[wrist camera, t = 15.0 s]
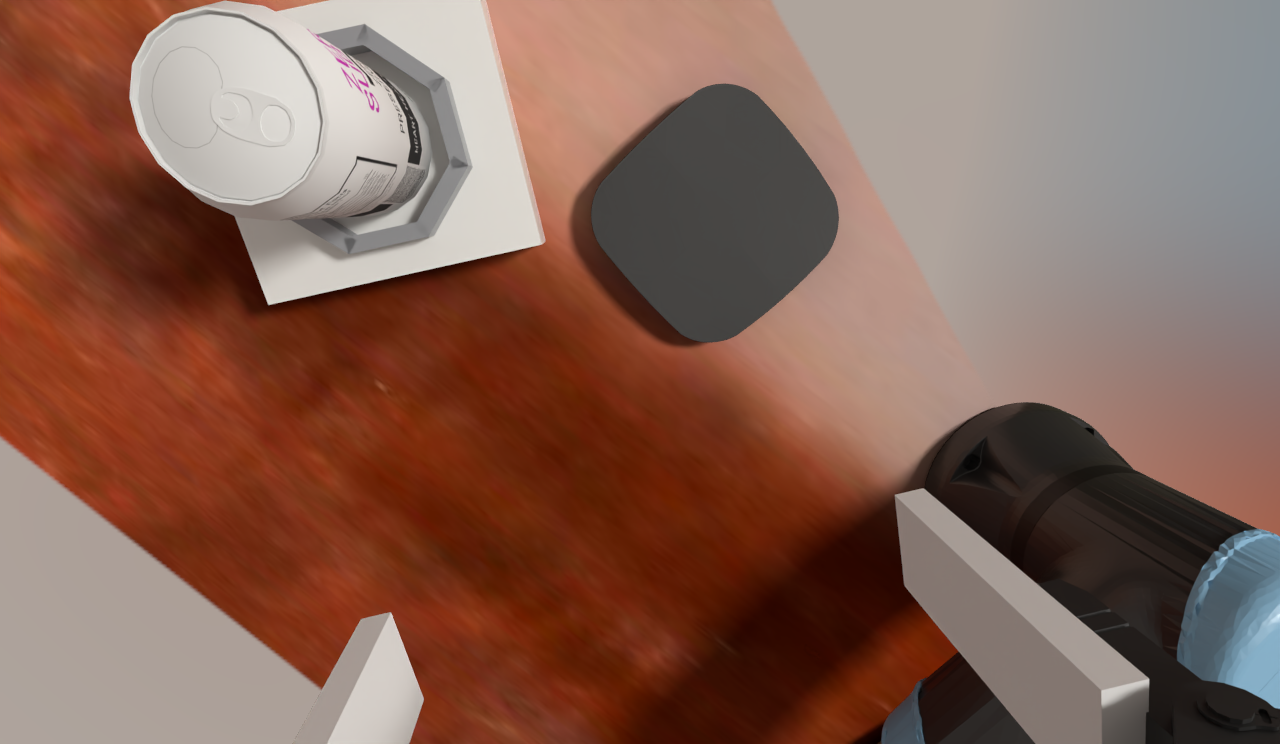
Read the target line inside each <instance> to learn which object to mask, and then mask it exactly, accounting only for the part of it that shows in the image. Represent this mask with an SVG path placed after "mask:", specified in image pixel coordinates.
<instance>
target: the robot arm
mask: <svg viewBox="0 0 1280 744" xmlns="http://www.w3.org/2000/svg"><path fill="white" fill-rule="evenodd" d="M895 503H896V513H897V522H898V531H899V540H900V550H901V559H902V568H903V578H904V586H905V587H906V588H907V590H908V591H909V592H910V593H911V594H912V596H913V597H914V598H915V599H916V600H917V602H918V603H919V604H920V605H921V606H922V608H923V609H924V610H925V611H926V613H927V614H928V615H929V616H930V617H931V619H932V620H933V621H934V622H935V623H936V625H937V626H938V627H939V628H940V629H941V631H942V632H943V633H944V634H945V635H946V637H947V638H948V639H949V640H950V641H951V643H952V644H953V645H954V646H955V647H956V649H957V650H958V651H959V652H958V653H956V654H955V655H954V656H953V657H952V658H950V659H949V660H948V661H947V662H946V663H944V664H943V665H942V666H941V667H940V668H938V669H937V670H936V671H935V672H934V673H932V674H931V675H930V676H929V677H928V678H924V679H922V680H920V681H919V682H917V684H916V685H915V687H914V690H913V692H912V693H911V694H910V695H909V696H908V697H907V698H906V699H905V700H904V701H903V702H902V703H901V704H900V705H899V706H898V707H897V708H896V709H895V710H894V711H893V712H891V714H890V715H889V716H888V717H887V719H886V721H885V723H884V725H883V729H882V739H881V743H882V744H1280V537H1279V536H1277V535H1276V534H1274V533H1271V532H1268V531H1265V530H1261V529H1257V528H1255V527H1253V526H1251V525H1248V524H1247V523H1244V522H1242V521H1240V520H1238V519H1236V518H1234V517H1232V516H1230V515H1227V514H1225V513H1223V512H1221V511H1219V510H1217V509H1215V508H1213V507H1211V506H1208V505H1207V504H1205V503H1202V502H1200V501H1198V500H1196V499H1194V498H1192V497H1190V496H1188V495H1186V494H1184V493H1181V492H1179V491H1177V490H1175V489H1173V488H1171V487H1169V486H1167V485H1165V484H1163V483H1160V482H1158V481H1156V480H1154V479H1152V478H1150V477H1148V476H1146V475H1144V474H1142V473H1140V472H1138V471H1135V470H1134V469H1133V468H1132V467H1131V466H1130V465H1129V464H1128V463H1127V462H1126V461H1125V460H1124V459H1123V458H1122V457H1121V456H1120V455H1119V454H1118V453H1117V452H1116V451H1115V450H1114V449H1113V448H1111V447H1110V446H1109V445H1108V443H1107V442H1106V440H1105V439H1104V438H1103V437H1102V436H1101V435H1100V434H1099V432H1097V430H1095V429H1094V428H1093V427H1092V426H1090V425H1089V424H1088V423H1086V422H1085V421H1083V420H1082V419H1080V418H1078V417H1076V416H1074V415H1071V414H1069V413H1067V412H1064V411H1062V410H1060V409H1058V408H1055V407H1052V406H1049V405H1045V404H1040V403H1028V402H1026V403H1014V404H1008V405H1004V406H1000V407H997V408H994V409H991V410H989V411H987V412H985V413H983V414H981V415H979V416H977V417H975V418H974V419H972V420H971V421H969V422H968V423H966V424H965V425H964V426H962V427H961V428H960V429H959V430H958V431H957V432H956V433H955V434H953V435H952V436H951V438H950V439H949V440H948V441H947V442H946V443H945V445H944V446H943V447H942V449H941V450H940V452H939V453H938V455H937V456H936V458H935V460H934V462H933V464H932V466H931V468H930V471H929V474H928V477H927V480H926V484H925V489H924V488H922V489H917V490H913V491H909V492H905V493H900V494H896V495H895ZM423 701H424V698H423V696H422V693H421V690H420V688H419V685H418V682H417V680H416V677H415V674H414V672H413V669H412V667H411V664H410V661H409V659H408V656H407V653H406V651H405V648H404V645H403V643H402V640H401V638H400V635H399V632H398V630H397V627H396V624H395V622H394V619H393V616H392V614H391V612H390V613H385V614H381V615H377V616H372V617H368V618H364V619H361V620H360V622H359V624H358V625H357V627H356V629H355V631H354V633H353V635H352V636H351V638H350V640H349V642H348V644H347V645H346V647H345V649H344V651H343V653H342V655H341V656H340V658H339V660H338V662H337V664H336V665H335V667H334V669H333V671H332V673H331V674H330V676H329V678H328V680H327V682H326V684H325V685H324V687H323V689H322V691H321V693H320V694H319V696H318V698H317V700H316V702H315V704H314V706H313V707H312V709H311V711H310V713H309V715H308V716H307V718H306V720H305V722H304V724H303V725H302V727H301V729H300V731H299V733H298V734H297V736H296V738H295V740H294V742H293V744H409V743H410V740H411V737H412V734H413V731H414V728H415V725H416V722H417V719H418V716H419V713H420V710H421V707H422V704H423Z"/></svg>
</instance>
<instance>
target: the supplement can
mask: <svg viewBox="0 0 1280 744" xmlns="http://www.w3.org/2000/svg"><path fill="white" fill-rule="evenodd" d="M130 102H131V106H132V109H133V113H134V117H135V121H136V125H137V128H138V132H139V134H140V136H141V137H142V139H143V140H144V142H145V143H146V145H147V147H148V148H149V150H150V151H151V153H152V155H153V156H154V158H155V159H156V161H157V162H158V164H159V165H160V166H162V167H163V168H164V169H165V170H166V171H167V172H168V173H170V174H171V175H172V176H173V177H174V178H175V179H177V180H178V181H179V182H180V183H181V184H182V185H183V186H185V187H186V188H187V189H188V190H189V191H191V192H192V193H193V194H194V195H195V196H196V197H197V198H199V199H200V200H201V201H202V202H204V203H207V204H209V205H211V206H213V207H216V208H218V209H220V210H222V211H225V212H227V213H229V214H231V215H234V216H236V217H241V218H251V219H261V220H270V221H279V220H299V219H320V218H340V217H360V216H375V215H379V214H383V213H387V212H391V211H395V210H398V209H399V208H400V207H402V206H403V205H404V204H406V203H407V202H409V201H410V200H411V199H413V198H414V197H415V196H416V195H417V193H418V191H419V190H420V188H421V187H422V185H423V184H424V182H425V180H426V179H427V177H428V172H429V167H430V162H431V157H432V148H431V142H430V135H429V128H428V126H427V124H426V122H425V120H424V118H423V116H422V114H421V112H420V110H419V108H418V106H417V105H416V104H415V103H414V102H413V101H412V100H411V99H410V97H409V96H408V95H407V94H406V93H405V92H404V91H403V90H402V89H401V88H400V87H399V86H398V85H396V84H394V83H393V82H391V81H390V80H388V79H386V78H385V77H383V76H382V75H380V74H378V73H377V72H375V71H374V70H372V69H371V68H369V67H367V66H366V65H364V64H363V63H361V62H359V61H358V60H356V59H355V58H353V57H351V56H350V55H348V54H347V53H345V52H343V51H342V50H340V49H339V48H337V47H335V46H334V45H332V44H331V43H329V42H328V41H326V40H324V39H323V38H321V37H320V36H318V35H316V34H315V33H313V32H312V31H310V30H308V29H307V28H305V27H304V26H302V25H300V24H298V23H296V22H294V21H292V20H291V19H289V18H287V17H285V16H283V15H281V14H279V13H277V12H275V11H273V10H271V9H269V8H267V7H265V6H260V5H253V4H245V3H238V2H231V1H222V2H218V3H214V4H210V5H206V6H202V7H198V8H194V9H190V10H188V11H186V12H182V13H178V14H174V15H172V16H171V17H170V18H168V19H167V20H166V21H164V22H163V23H162V24H161V25H159V26H158V27H157V28H156V29H154V30H153V31H152V32H150V33H149V34H148V35H147V37H146V39H145V41H144V42H143V44H142V46H141V48H140V50H139V52H138V54H137V56H136V58H135V60H134V62H133V64H132V74H131V86H130Z"/></svg>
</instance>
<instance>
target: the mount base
mask: <svg viewBox="0 0 1280 744" xmlns="http://www.w3.org/2000/svg"><path fill="white" fill-rule="evenodd" d="M277 13H279V14H281V15H283V16H285V17H287V18H289V19H291V20H292V21H294V22H296V23H298V24H300V25H302V26H304V27H305V28H307V29H308V30H310V31H312V32H313V33H315V34H316V35H318V36H320V37H321V38H323V39H324V40H326V41H328V42H329V43H331V44H332V45H334V46H335V47H337V48H339V49H340V50H342V51H343V52H345V53H347V54H348V55H350V56H351V57H353V58H355V59H356V60H358V61H359V62H361V63H363V64H364V65H366V66H367V67H369V68H371V69H372V70H374V71H375V72H377V73H378V74H380V75H382V76H383V77H385V78H386V79H388V80H390V81H391V82H393V83H394V84H396V85H398V86H399V87H400V88H401V89H402V90H403V91H404V92H405V93H406V94H407V95H408V96H409V97H410V99H411V100H412V101H413V102H414V103H415V104H416V105H417V106H418V108H419V110H420V112H421V114H422V116H423V118H424V120H425V122H426V124H427V126H428V128H429V135H430V142H431V148H432V157H431V162H430V167H429V172H428V177H427V179H426V180H425V182H424V184H423V185H422V187H421V188H420V190H419V191H418V193H417V195H416V196H415V197H414V198H413V199H411V200H410V201H409V202H407V203H406V204H404V205H403V206H402V207H400V208H399V209H398V210H395V211H391V212H387V213H383V214H379V215H375V216H360V217H340V218H320V219H299V220H279V221H270V220H261V219H251V218H241V217H236V216H235V219H236V221H237V224H238V227H239V229H240V232H241V234H242V237H243V240H244V242H245V245H246V248H247V250H248V253H249V255H250V258H251V261H252V263H253V266H254V269H255V271H256V274H257V276H258V279H259V282H260V284H261V287H262V290H263V292H264V295H265V297H266V300H267V303H268V305H271V304H275V303H280V302H285V301H289V300H294V299H298V298H303V297H307V296H312V295H316V294H321V293H325V292H330V291H334V290H339V289H343V288H348V287H352V286H357V285H361V284H366V283H370V282H375V281H380V280H384V279H389V278H393V277H398V276H402V275H407V274H411V273H416V272H420V271H425V270H429V269H434V268H438V267H443V266H447V265H452V264H456V263H461V262H465V261H470V260H475V259H479V258H484V257H488V256H493V255H497V254H502V253H506V252H511V251H515V250H520V249H524V248H529V247H533V246H538V245H542V244H543V243H544V242H545V241H546V240H545V236H544V232H543V228H542V224H541V220H540V216H539V212H538V208H537V204H536V200H535V196H534V192H533V188H532V184H531V180H530V176H529V172H528V168H527V164H526V160H525V156H524V152H523V148H522V144H521V140H520V136H519V131H518V127H517V123H516V119H515V115H514V111H513V107H512V103H511V99H510V95H509V91H508V87H507V83H506V79H505V75H504V71H503V67H502V63H501V59H500V55H499V51H498V47H497V43H496V39H495V35H494V31H493V27H492V23H491V19H490V15H489V11H488V7H487V3H486V0H329V1H324V2H320V3H315V4H310V5H305V6H301V7H296V8H291V9H286V10H282V11H277Z"/></svg>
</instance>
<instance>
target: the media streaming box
mask: <svg viewBox="0 0 1280 744" xmlns="http://www.w3.org/2000/svg"><path fill="white" fill-rule="evenodd" d="M591 220H592V227H593V231H594V234H595V237H596V239H597V241H598V243H599V245H600V246H601V248H602V249H603V250H604V251H605V253H606V254H607V255H608V256H609V257H610V259H611V260H612V261H613V262H614V264H615V265H616V266H617V267H618V268H619V269H620V271H621V272H622V273H623V274H624V275H625V276H626V278H627V279H628V280H629V281H630V282H631V283H632V284H633V286H634V287H635V288H636V289H637V290H638V291H639V292H640V293H641V294H642V295H643V297H644V298H645V299H646V300H647V301H648V302H649V303H650V304H651V305H652V306H653V307H654V308H655V309H656V310H657V311H658V312H659V313H660V314H661V315H662V316H663V317H664V318H665V319H666V320H667V321H668V322H669V323H670V324H671V325H672V326H673V327H674V328H675V329H676V330H677V331H678V332H679V333H680V334H682V335H683V336H685V337H687V338H689V339H692V340H695V341H700V342H719V341H723V340H727V339H729V338H732V337H734V336H736V335H738V334H739V333H740V332H742V331H743V330H744V329H746V328H747V327H748V326H750V325H751V324H752V323H754V322H755V321H756V320H758V319H759V318H760V317H761V316H763V315H764V314H765V313H766V312H768V311H769V310H770V309H771V308H772V307H774V306H775V305H776V304H777V303H778V302H779V301H781V300H782V299H783V298H784V297H785V296H786V295H787V294H788V293H789V292H791V291H792V290H793V289H794V288H795V287H796V286H797V285H798V284H799V283H800V282H801V281H802V280H803V279H804V278H805V277H806V276H807V275H808V274H809V273H810V272H811V271H812V270H813V269H814V268H815V267H816V266H817V265H818V264H819V263H820V262H821V261H822V260H823V259H824V258H825V256H826V255H827V254H828V252H829V251H830V249H831V247H832V245H833V243H834V240H835V237H836V234H837V229H838V221H839V215H838V206H837V202H836V199H835V196H834V194H833V192H832V191H831V189H830V187H829V186H828V184H827V182H826V181H825V179H824V178H823V176H822V175H821V173H820V172H819V170H818V169H817V167H816V166H815V164H814V163H813V161H812V160H811V159H810V157H809V156H808V154H807V153H806V152H805V150H804V149H803V148H802V146H801V145H800V144H799V143H798V141H797V140H796V139H795V137H794V136H793V135H792V134H791V132H790V131H789V130H788V129H787V128H786V126H785V125H784V124H783V123H782V122H781V121H780V119H779V118H778V117H777V116H776V115H775V114H774V113H773V111H772V110H771V109H770V108H769V107H768V106H767V105H766V104H765V103H764V102H763V101H762V100H761V99H760V98H759V96H758V95H756V94H755V93H753V92H752V91H750V90H748V89H746V88H743V87H740V86H737V85H732V84H716V85H711V86H707V87H705V88H702V89H700V90H698V91H696V92H695V93H694V94H693V95H692V96H690V97H689V98H688V99H687V100H686V101H685V102H683V103H682V104H681V105H680V106H679V107H678V108H676V109H675V110H674V111H673V112H672V113H671V114H670V115H669V116H667V117H666V118H665V119H664V120H663V121H662V122H661V123H660V124H659V125H658V126H657V127H656V128H654V129H653V130H652V131H651V132H650V133H649V134H648V135H647V136H646V137H645V138H644V139H643V140H642V141H641V142H640V143H639V144H638V145H637V146H636V147H635V148H634V149H633V150H632V151H631V152H630V153H629V154H628V155H627V156H626V157H625V158H624V159H623V160H622V161H621V162H620V163H619V164H618V165H617V166H616V167H615V168H614V170H613V171H612V172H611V173H610V174H609V175H608V176H607V177H606V178H605V179H604V180H603V181H602V183H601V184H600V186H599V187H598V189H597V191H596V194H595V196H594V199H593V203H592V210H591Z"/></svg>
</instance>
